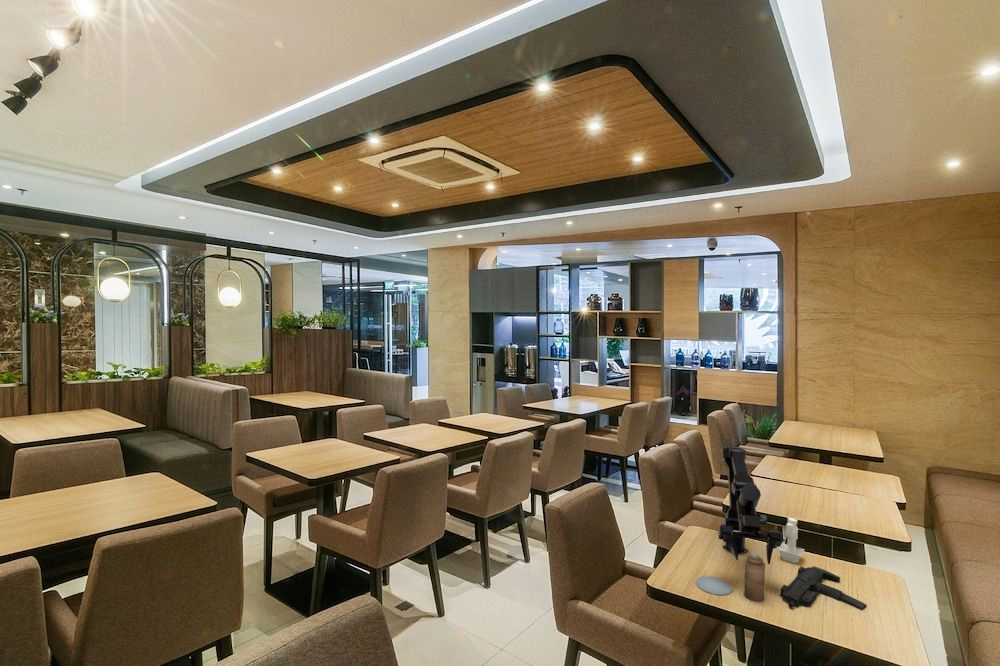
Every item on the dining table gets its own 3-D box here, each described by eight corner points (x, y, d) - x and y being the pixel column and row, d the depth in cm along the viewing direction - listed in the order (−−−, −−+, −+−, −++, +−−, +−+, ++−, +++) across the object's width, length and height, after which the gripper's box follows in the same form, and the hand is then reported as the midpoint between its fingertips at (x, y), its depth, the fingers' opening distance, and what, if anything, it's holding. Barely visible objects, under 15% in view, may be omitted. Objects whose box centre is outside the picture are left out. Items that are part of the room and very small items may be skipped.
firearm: (851, 638, 140) (773, 603, 155) (873, 597, 161) (803, 570, 176) (852, 626, 140) (774, 593, 154) (874, 587, 161) (804, 561, 175)
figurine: (805, 558, 184) (806, 517, 184) (799, 567, 177) (801, 525, 177) (782, 552, 189) (784, 512, 189) (776, 560, 182) (778, 519, 182)
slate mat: (712, 574, 171) (712, 573, 171) (740, 590, 161) (740, 589, 161) (688, 581, 166) (688, 580, 166) (715, 598, 156) (715, 597, 156)
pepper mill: (742, 590, 161) (743, 549, 161) (761, 593, 160) (763, 552, 159) (745, 600, 156) (747, 557, 156) (765, 603, 154) (767, 560, 154)
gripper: (720, 500, 168) (724, 547, 157) (782, 507, 162) (791, 556, 152) (716, 515, 175) (720, 561, 165) (776, 522, 170) (783, 570, 160)
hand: (753, 561), depth 160 cm, fingers open, 9 cm apart
